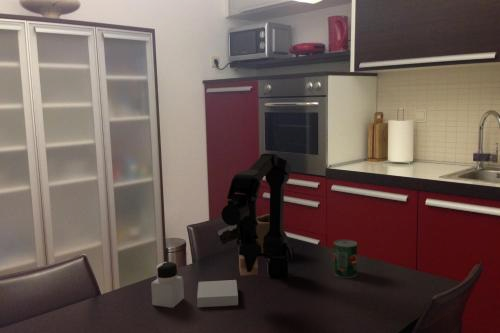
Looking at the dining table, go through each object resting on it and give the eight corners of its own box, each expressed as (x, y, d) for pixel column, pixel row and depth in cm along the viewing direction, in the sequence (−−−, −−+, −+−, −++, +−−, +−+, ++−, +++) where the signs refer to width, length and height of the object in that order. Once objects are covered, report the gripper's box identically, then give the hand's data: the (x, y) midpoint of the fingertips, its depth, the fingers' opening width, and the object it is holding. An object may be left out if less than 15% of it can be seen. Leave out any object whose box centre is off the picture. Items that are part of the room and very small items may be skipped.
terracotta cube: (256, 268, 137) (255, 252, 136) (257, 274, 132) (257, 257, 132) (239, 269, 137) (238, 253, 136) (240, 275, 132) (240, 258, 131)
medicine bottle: (184, 298, 141) (182, 261, 139) (173, 308, 134) (171, 269, 132) (163, 295, 143) (161, 259, 141) (151, 305, 136) (149, 267, 135)
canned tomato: (359, 277, 154) (359, 246, 152) (335, 278, 154) (335, 246, 152) (354, 269, 161) (354, 239, 160) (332, 269, 162) (332, 239, 160)
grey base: (236, 288, 147) (236, 279, 147) (238, 305, 135) (237, 295, 135) (199, 290, 146) (198, 281, 146) (197, 307, 134) (197, 297, 134)
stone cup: (254, 258, 175) (253, 220, 173) (248, 248, 187) (247, 213, 185) (292, 254, 178) (292, 217, 176) (284, 245, 190) (283, 210, 188)
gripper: (218, 210, 141) (220, 259, 143) (219, 226, 122) (222, 282, 124) (254, 208, 142) (255, 257, 144) (261, 224, 123) (262, 279, 125)
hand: (248, 268), depth 134 cm, fingers closed on terracotta cube, 5 cm apart
